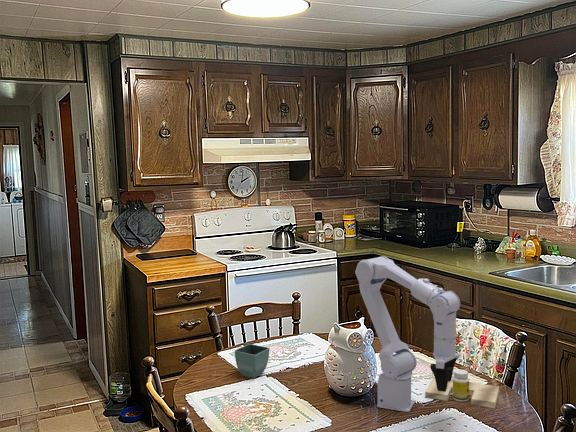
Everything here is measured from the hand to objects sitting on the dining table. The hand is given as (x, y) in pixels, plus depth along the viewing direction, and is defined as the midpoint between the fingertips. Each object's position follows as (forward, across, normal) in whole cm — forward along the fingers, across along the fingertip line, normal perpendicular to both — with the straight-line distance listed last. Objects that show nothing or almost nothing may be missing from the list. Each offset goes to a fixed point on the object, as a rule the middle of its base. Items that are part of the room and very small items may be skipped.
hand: (444, 385), depth 161 cm
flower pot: (+10, +11, +65) cm, 67 cm away
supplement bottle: (+11, +18, -2) cm, 21 cm away
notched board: (+10, +21, -2) cm, 24 cm away
